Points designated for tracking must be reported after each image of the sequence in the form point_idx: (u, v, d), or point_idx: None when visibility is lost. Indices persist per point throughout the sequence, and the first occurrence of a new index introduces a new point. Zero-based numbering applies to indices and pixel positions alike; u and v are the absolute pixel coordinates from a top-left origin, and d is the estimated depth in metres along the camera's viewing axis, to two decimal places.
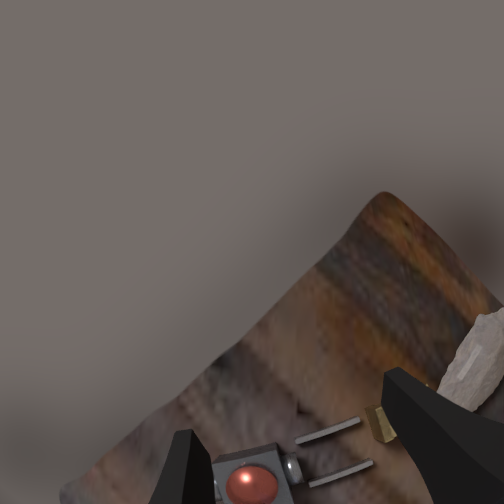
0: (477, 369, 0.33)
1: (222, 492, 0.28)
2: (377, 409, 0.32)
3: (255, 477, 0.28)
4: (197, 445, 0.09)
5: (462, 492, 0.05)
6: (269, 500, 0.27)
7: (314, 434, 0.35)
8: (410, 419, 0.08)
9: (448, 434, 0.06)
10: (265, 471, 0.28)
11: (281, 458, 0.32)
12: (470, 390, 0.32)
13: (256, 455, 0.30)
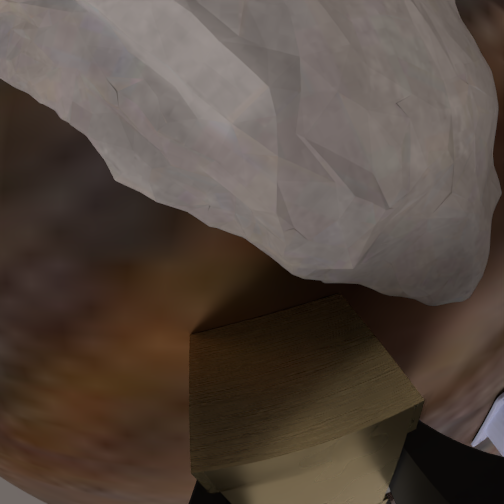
0: None
1: None
2: None
3: None
4: None
5: None
6: None
7: None
8: None
9: (410, 455, 0.06)
10: None
11: None
12: (380, 14, 0.04)
13: None
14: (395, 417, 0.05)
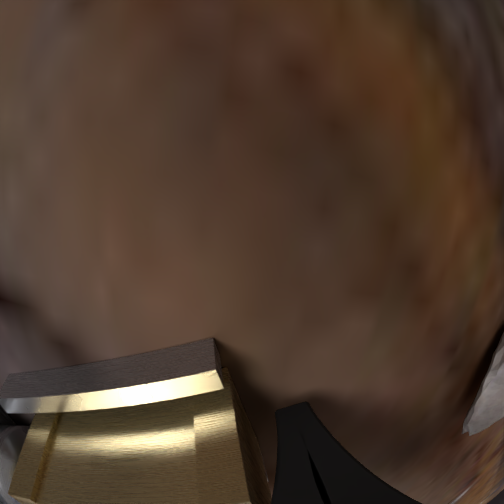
0: None
1: None
2: (15, 496, 0.05)
3: None
4: None
5: None
6: None
7: (41, 401, 0.08)
8: None
9: (327, 490, 0.06)
10: None
11: None
12: None
13: None
14: None
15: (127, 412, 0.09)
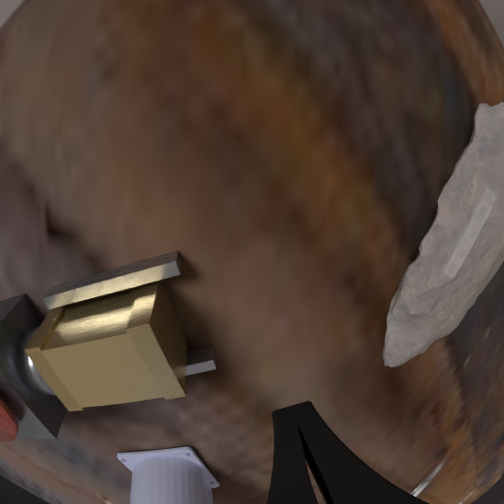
0: (485, 247, 0.16)
1: None
2: (29, 350, 0.13)
3: None
4: None
5: None
6: (10, 434, 0.12)
7: (76, 292, 0.16)
8: (311, 459, 0.08)
9: (330, 489, 0.06)
10: None
11: (19, 344, 0.14)
12: (467, 289, 0.17)
13: None
14: (179, 387, 0.15)
15: (104, 302, 0.17)
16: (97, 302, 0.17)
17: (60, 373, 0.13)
